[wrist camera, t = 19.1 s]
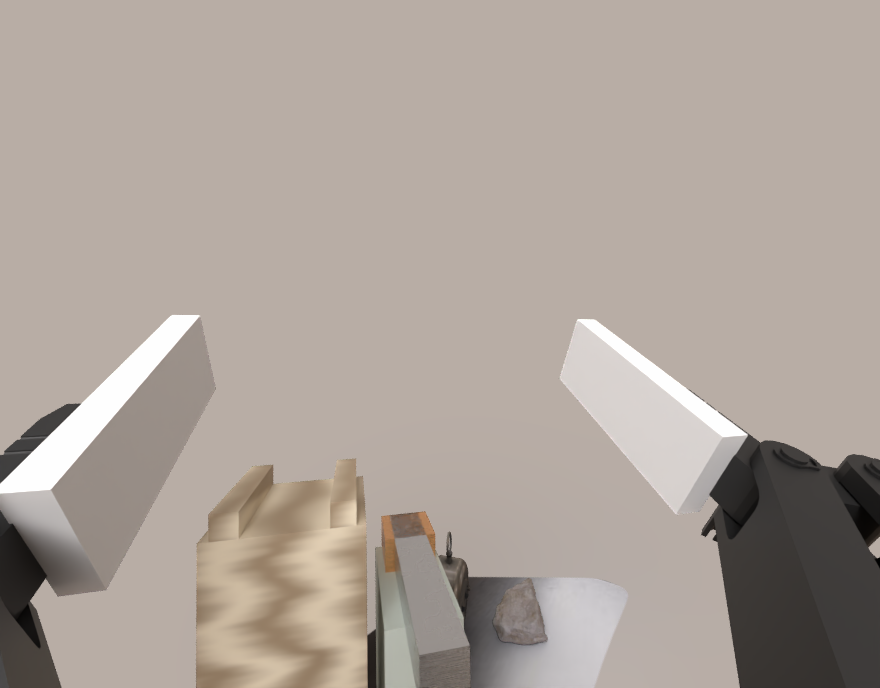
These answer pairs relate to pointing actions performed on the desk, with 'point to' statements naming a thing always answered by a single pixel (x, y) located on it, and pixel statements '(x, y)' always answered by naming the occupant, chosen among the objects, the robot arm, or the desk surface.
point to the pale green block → (395, 629)
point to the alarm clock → (456, 576)
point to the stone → (520, 616)
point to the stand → (284, 584)
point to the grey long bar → (425, 603)
